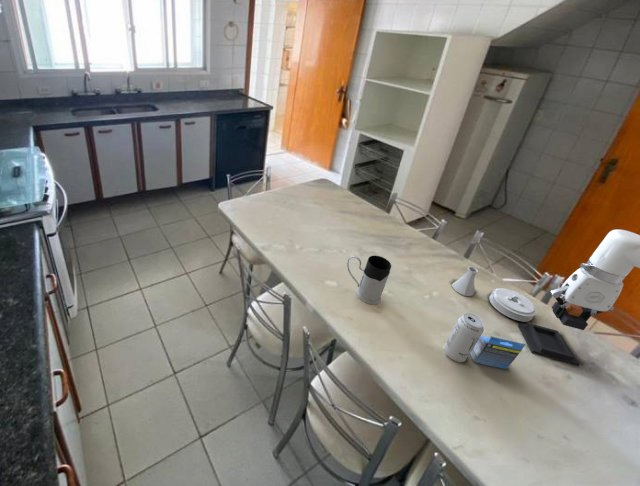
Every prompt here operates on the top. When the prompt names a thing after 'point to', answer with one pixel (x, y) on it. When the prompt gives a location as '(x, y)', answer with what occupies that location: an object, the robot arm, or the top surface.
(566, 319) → the black and orange block
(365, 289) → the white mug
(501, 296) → the lid
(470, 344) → the energy drink can
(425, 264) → the top surface
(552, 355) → the black shallow tray
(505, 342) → the label tape box
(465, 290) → the flask
